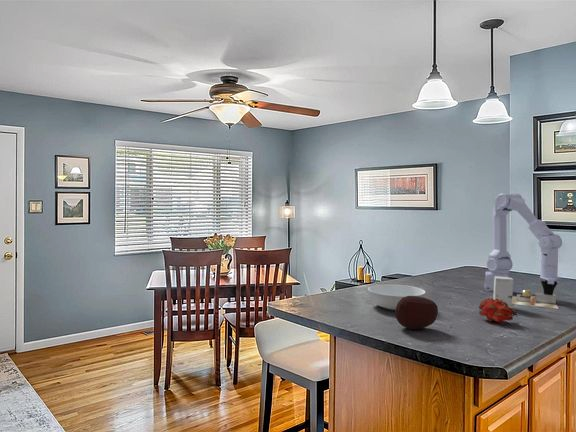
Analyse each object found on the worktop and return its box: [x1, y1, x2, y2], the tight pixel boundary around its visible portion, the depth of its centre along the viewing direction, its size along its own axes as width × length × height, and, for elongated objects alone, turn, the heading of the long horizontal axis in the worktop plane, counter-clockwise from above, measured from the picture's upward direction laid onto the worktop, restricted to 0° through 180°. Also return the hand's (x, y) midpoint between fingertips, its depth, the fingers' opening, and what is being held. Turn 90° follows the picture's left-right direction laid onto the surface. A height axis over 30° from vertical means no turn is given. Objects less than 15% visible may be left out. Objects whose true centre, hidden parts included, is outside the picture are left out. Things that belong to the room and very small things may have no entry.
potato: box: [394, 296, 439, 330], centre depth 138 cm, size 11×13×10 cm
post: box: [521, 289, 532, 298], centre depth 178 cm, size 3×3×4 cm
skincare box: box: [492, 276, 514, 309], centre depth 165 cm, size 6×4×12 cm
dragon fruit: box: [478, 297, 518, 325], centre depth 148 cm, size 8×8×12 cm
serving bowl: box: [367, 283, 427, 311], centre depth 166 cm, size 21×21×7 cm
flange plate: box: [516, 292, 557, 305], centre depth 177 cm, size 14×7×3 cm, turn 60°
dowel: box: [531, 297, 535, 305], centre depth 170 cm, size 1×1×3 cm
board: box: [512, 295, 559, 310], centre depth 176 cm, size 17×16×1 cm
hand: (548, 299), depth 176 cm, fingers closed, pressing on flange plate
